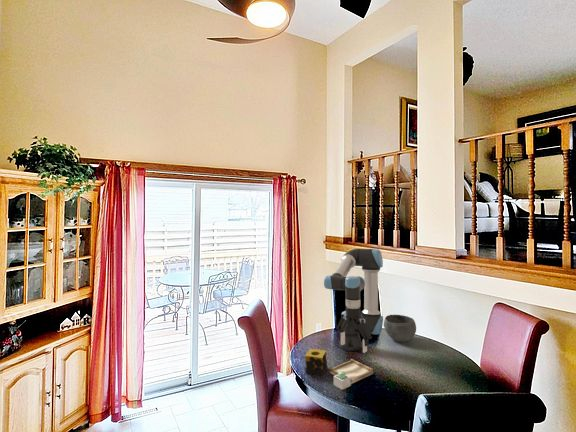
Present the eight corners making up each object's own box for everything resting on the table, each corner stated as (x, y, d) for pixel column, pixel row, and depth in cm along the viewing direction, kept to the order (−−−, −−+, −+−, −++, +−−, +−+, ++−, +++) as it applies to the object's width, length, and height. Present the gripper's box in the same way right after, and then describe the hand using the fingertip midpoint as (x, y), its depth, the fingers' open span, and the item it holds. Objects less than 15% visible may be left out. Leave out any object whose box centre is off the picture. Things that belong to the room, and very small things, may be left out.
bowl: (389, 332, 235) (389, 312, 235) (419, 338, 223) (419, 316, 222) (379, 341, 218) (379, 320, 218) (411, 349, 206) (411, 325, 205)
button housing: (333, 384, 165) (333, 376, 165) (342, 381, 168) (341, 372, 168) (342, 389, 160) (341, 380, 160) (350, 385, 163) (350, 377, 163)
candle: (327, 367, 183) (327, 350, 183) (323, 376, 174) (323, 357, 174) (310, 365, 187) (309, 348, 187) (305, 373, 177) (305, 355, 177)
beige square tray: (329, 372, 178) (329, 367, 178) (351, 363, 188) (351, 358, 188) (350, 384, 165) (350, 379, 165) (373, 373, 175) (373, 369, 175)
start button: (336, 380, 164) (336, 372, 164) (341, 378, 166) (341, 370, 166) (341, 383, 161) (341, 375, 161) (346, 380, 164) (346, 373, 164)
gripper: (329, 303, 172) (330, 343, 172) (370, 313, 154) (370, 357, 154) (338, 301, 177) (338, 339, 177) (378, 310, 159) (379, 353, 159)
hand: (353, 348), depth 165 cm, fingers open, 13 cm apart
